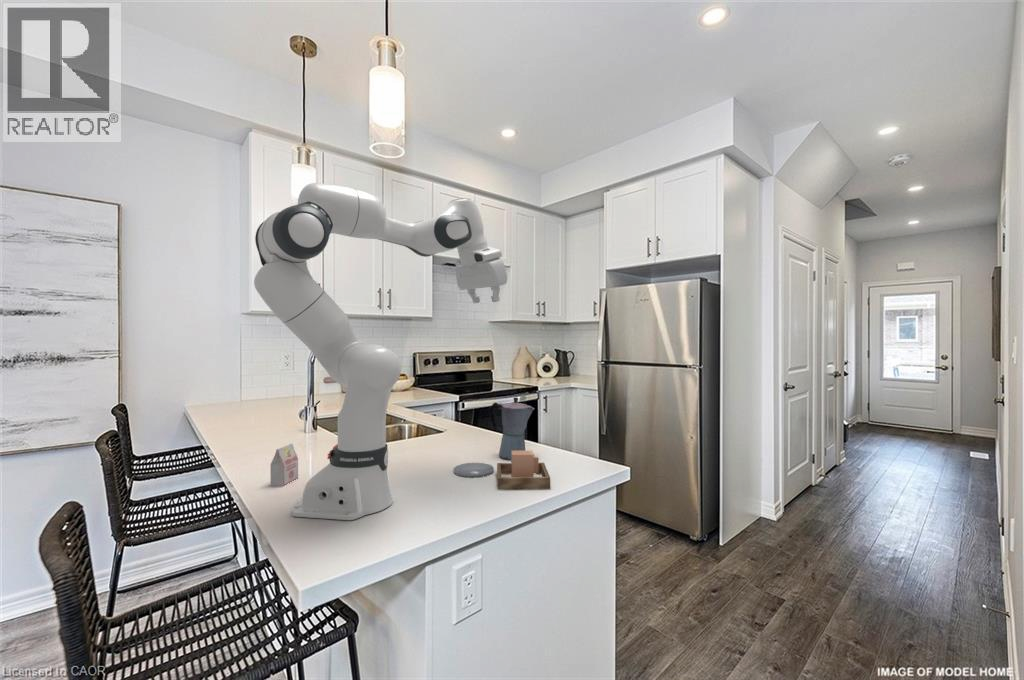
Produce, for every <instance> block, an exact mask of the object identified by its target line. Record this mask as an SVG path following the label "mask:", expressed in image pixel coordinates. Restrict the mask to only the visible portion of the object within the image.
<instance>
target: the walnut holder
mask: <svg viewBox="0 0 1024 680" xmlns="http://www.w3.org/2000/svg"><path fill="white" fill-rule="evenodd" d="M538 473H541V476H534V477H511V476H503V477H502V475H511V462H497V464H496V478H497V479H496V480H497V481H496V482H497V490H498V489H514V490H551V477H550V474H549V471H548V469H547V466H546V464H545V462H539V463H538Z"/></svg>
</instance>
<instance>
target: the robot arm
mask: <svg viewBox="0 0 1024 680" xmlns="http://www.w3.org/2000/svg"><path fill="white" fill-rule="evenodd" d="M484 230H485V229H484V224H483V220H482V216H481V214H480V210H479V208H478V206H477V204H476V202H475V200H473V199H471V198H456V199H453V200H450V201H449V202H448V203H447V206H446V207H445V208H444V209H443V210H442V211H441V212H440V213H438V214H437V215H436V216H434V217H431V218H428V219H425V220H421V221H417V222H413V223H410V222H404V221H401V220H398V219H394V218H391V217H388V216H387V211H386V208H385V205H384V204H383V202H382V201H381V199H380V198H379V197H377V196H376V195H373V194H371V193H369V192H366V191H363V190H361V189H357V188H353V187H347V186H344V185H340V184H339V185H338V184H333V183H332V184H331V183H322V182H311V183H308V184H306V185H305V186H304V187H303V188H302V189H301V191H300V192H299V195H298V198H297V204H295V205H294V204H293V205H291V206H288V207H286V208H283V209H282V210H281V211H277V212H275V213H272V214H271V215H270V216H269V217H267V218H266V219H265V220H263V222H262V223H260V224H259V226H258V227H257V229H256V232H255V237H254V238H255V240H254V241H255V245H256V249H257V253H258V255H259V259H260V263H261V267H260V268H259V270H258V271H257V273H256V275H255V277H254V280H253V281H254V282H253V285H254V288H255V290H256V292H257V293H258V295H259V296H260V297H261V299H262V300H263V302H264V303H265V304H266V305H267V306H268V308H269V310H270V311H272V313H273V314H274V315H275V316H276V317H277V318H278V319H279V320H280V321H281V322H282V323H283V324H284V325H285V327H287V328H288V329H289V331H291V332H292V334H294V335H295V336H296V337H297V338H298V339H299V340H300V341H301V342H302V343H303V344H304V345H305V346H306V347H307V348H308V350H309V351H310V352H311V353H312V354H313V355H314V356H315V358H316V360H317V361H318V362H319V364H320V365H321V366H322V367H323V369H324V370H325V371H326V373H328V376H329V377H330V378H331V379H332V380H333V381H334V382H336V384H337V383H338V385H341V386H343V387H345V394H344V398H343V399H344V400H343V403H342V406H341V409H340V410H339V412H338V414H337V444H335V445H334V446H333V447H332V449H331V450H330V451H329V453H327V457H326V458H327V460H329V463H328V464H326V466H324V467H323V468H322V469H321V470H319V471H318V472H317V473H316V474H314V475H313V476H312V477H311V478H310V479H309V480H307V482H306V484H305V486H304V490H303V494H302V497H301V498H299V500H296V502H295V503H294V504H293V505H292V508H291V516H292V517H298V518H313V519H329V520H339V521H341V520H342V521H354V520H357V519H359V518H362V517H364V516H367V515H371V514H374V513H378V512H380V511H383V510H385V509H387V508H389V507H390V506H391V505H392V504H393V502H394V500H393V497H392V493H391V489H390V485H389V480H388V479H389V478H388V464H389V450H388V449H389V448H388V444H387V443H386V438H387V437H386V436H387V435H386V434H387V425H386V424H387V411H388V410H387V409H388V406H389V401H390V397H391V393H392V390H393V388H394V386H395V384H396V383H397V382H398V381H399V379H400V376H401V374H402V373H401V372H402V364H401V361H400V358H399V356H398V355H397V354H396V353H395V352H394V351H392V350H391V349H389V348H388V347H385V346H383V345H380V344H375V343H366V342H364V341H363V340H362V339H361V338H360V337H359V336H358V335H357V334H356V332H355V330H354V328H353V327H352V325H351V324H350V322H349V317H348V315H347V314H346V313H345V312H344V310H342V308H341V307H340V305H338V304H337V303H336V301H334V300H333V298H332V297H331V296H330V295H329V294H328V293H327V292H326V291H325V290H324V288H323V287H321V285H320V284H319V283H318V282H317V281H316V280H314V278H313V277H312V275H311V273H310V271H309V267H308V262H307V261H308V260H309V261H310V259H313V258H315V257H317V256H319V255H320V254H321V253H322V252H323V251H324V250H325V248H326V247H327V245H328V242H329V239H330V235H331V234H336V235H340V236H344V237H350V238H356V239H357V238H358V239H365V240H366V239H367V240H378V241H383V242H387V243H391V244H395V245H399V246H402V247H405V248H406V249H408V250H410V251H412V252H413V253H414V254H416V255H418V256H420V257H425V258H426V257H431V256H434V255H436V254H441V253H444V252H448V251H453V250H455V249H457V253H458V257H459V259H456V262H455V270H454V272H455V278H456V284H457V287H458V289H460V291H463V290H466V292H467V293H468V295H469V296H470V299H471V301H472V303H473V304H478V303H480V302H481V299H480V298H481V297H480V296H479V295H478V294H477V293H476V289H482V288H483V289H484V288H485V289H486V288H490V289H491V291H492V295H491V296H490V299H491V302H492V303H498V302H500V300H501V299H500V296H499V295H500V290H501V288H500V287H501V286H504V285H506V284H507V282H508V274H507V270H506V265H505V263H504V261H503V259H502V256H503V253H502V251H501V249H499V248H496V247H492V246H489V245H488V241H487V239H486V237H485V235H484Z"/></svg>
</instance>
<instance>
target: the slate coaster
mask: <svg viewBox="0 0 1024 680" xmlns="http://www.w3.org/2000/svg"><path fill="white" fill-rule="evenodd" d="M494 470H495V468H494V466H493V465H492V464H489V463H485V462H467V463H460V464H459V465H456V466H454V467H453V474H454V475H456V476H458V477H460V478H461V477H462V478H467V477H470V478H471V479H472V478H473V479H475V478H474V477H477V478H484V477H487V475H488V476H490V475H492V474H493V473H494V472H495V471H494ZM483 476H484V477H483Z"/></svg>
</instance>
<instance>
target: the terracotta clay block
mask: <svg viewBox="0 0 1024 680" xmlns="http://www.w3.org/2000/svg"><path fill="white" fill-rule="evenodd" d="M539 460H540V459H539V456H535V454H534V452H533V450H532V449H531V450H529V449H528V450H525V451H511V460H510V461H511V462H510V463H511V474H510V475H511V476H510V477H535V476H534V473H538V463H540V461H539Z"/></svg>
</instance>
